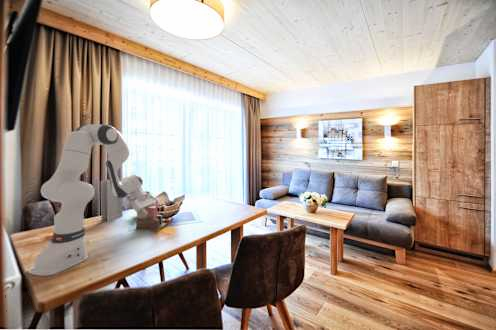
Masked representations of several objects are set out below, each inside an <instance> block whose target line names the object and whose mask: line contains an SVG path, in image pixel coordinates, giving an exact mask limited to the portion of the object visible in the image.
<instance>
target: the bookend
mask: <svg viewBox="0 0 496 330" xmlns="http://www.w3.org/2000/svg"><path fill="white" fill-rule="evenodd" d="M157 219H159V224H162V223H163V215H161V214H157Z"/></svg>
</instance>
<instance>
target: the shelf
mask: <svg viewBox="0 0 496 330" xmlns="http://www.w3.org/2000/svg"><path fill="white" fill-rule="evenodd" d="M135 219H136V226H135V230H140V231H148V232H156V233H157V232H159V231H160V230H162V229H164V228H165V227H167V226H168V223H167V222H162V224H159V219H150V218H146V217H144V218H139V217H136V218H135Z"/></svg>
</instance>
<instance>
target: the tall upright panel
mask: <svg viewBox="0 0 496 330" xmlns="http://www.w3.org/2000/svg"><path fill="white" fill-rule="evenodd" d="M122 179H123V178H119V182H120V181H121V180H122ZM100 202H101V203H100V213H101V215H100V217H101V222H103V221H105V220H107V222H108V223H109V222H112V221H113V220H116V219H119V218H120V217H121V218H122V217H123V216H124V215H123V198H118V197H115V196H114V194H113V193H112V189H111V183H110V179H105V180H104V179H103V180H100Z"/></svg>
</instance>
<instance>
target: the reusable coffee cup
mask: <svg viewBox="0 0 496 330" xmlns="http://www.w3.org/2000/svg"><path fill="white" fill-rule="evenodd" d="M145 210H146V208H145ZM136 216H137V217H136V218H138V217H139V218H146V214H145V213H143V212H142V211H138V212H136Z"/></svg>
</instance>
